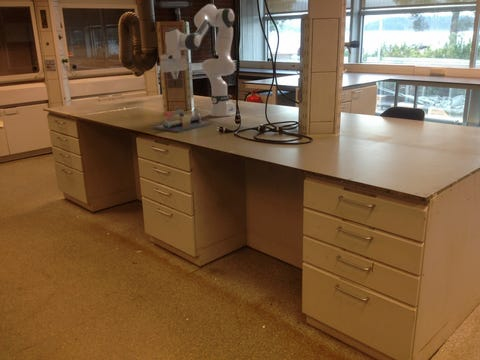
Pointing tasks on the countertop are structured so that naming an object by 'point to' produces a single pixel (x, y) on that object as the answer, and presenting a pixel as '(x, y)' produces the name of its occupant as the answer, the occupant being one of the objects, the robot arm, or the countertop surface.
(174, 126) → the valve assembly
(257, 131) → the countertop surface
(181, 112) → the lever
